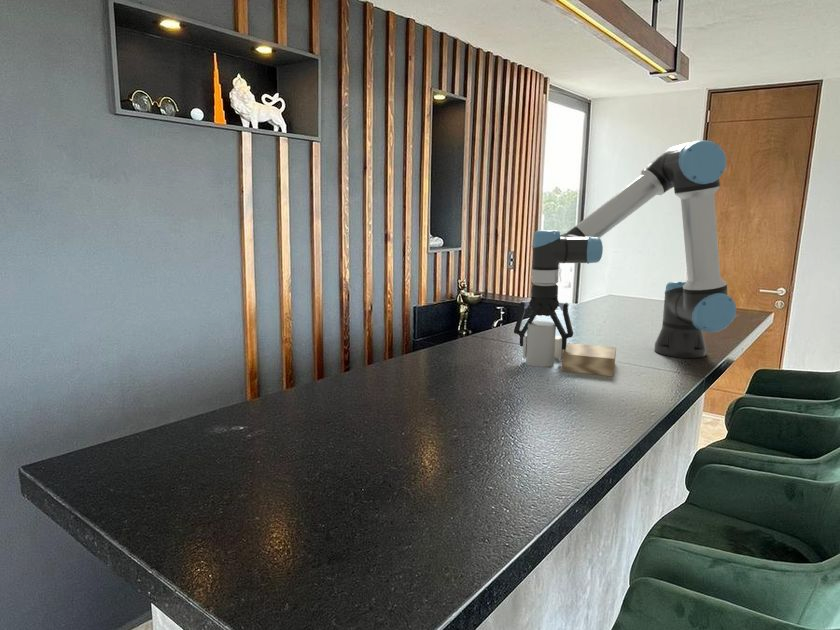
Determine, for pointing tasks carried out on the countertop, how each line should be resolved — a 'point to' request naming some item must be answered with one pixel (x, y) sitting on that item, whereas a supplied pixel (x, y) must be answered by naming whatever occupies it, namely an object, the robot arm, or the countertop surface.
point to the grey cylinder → (540, 344)
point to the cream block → (557, 347)
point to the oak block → (589, 359)
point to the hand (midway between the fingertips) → (542, 358)
